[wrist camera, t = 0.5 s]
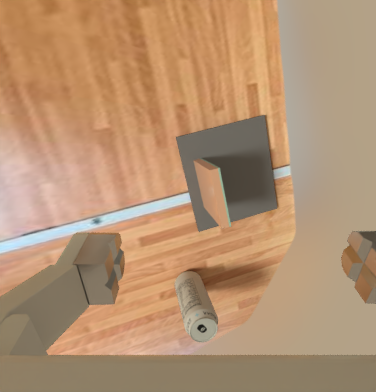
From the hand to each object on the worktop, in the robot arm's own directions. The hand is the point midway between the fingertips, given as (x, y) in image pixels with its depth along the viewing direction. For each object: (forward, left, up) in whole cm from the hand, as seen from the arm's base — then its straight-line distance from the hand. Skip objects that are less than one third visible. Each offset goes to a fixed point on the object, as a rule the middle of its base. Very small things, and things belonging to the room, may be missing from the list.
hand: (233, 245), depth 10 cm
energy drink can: (+30, -1, -43) cm, 53 cm away
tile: (+9, +8, -42) cm, 44 cm away
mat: (+9, +14, -43) cm, 46 cm away
